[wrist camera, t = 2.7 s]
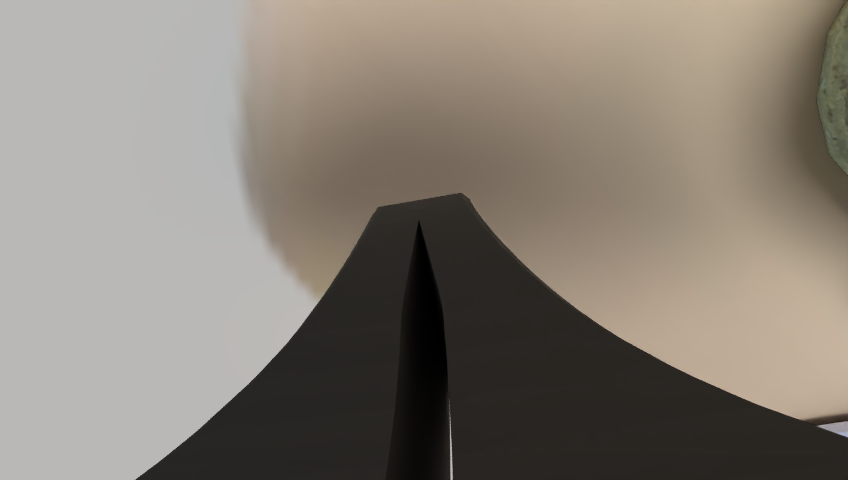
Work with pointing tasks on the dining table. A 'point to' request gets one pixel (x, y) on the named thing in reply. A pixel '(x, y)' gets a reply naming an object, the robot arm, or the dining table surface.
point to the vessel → (835, 90)
